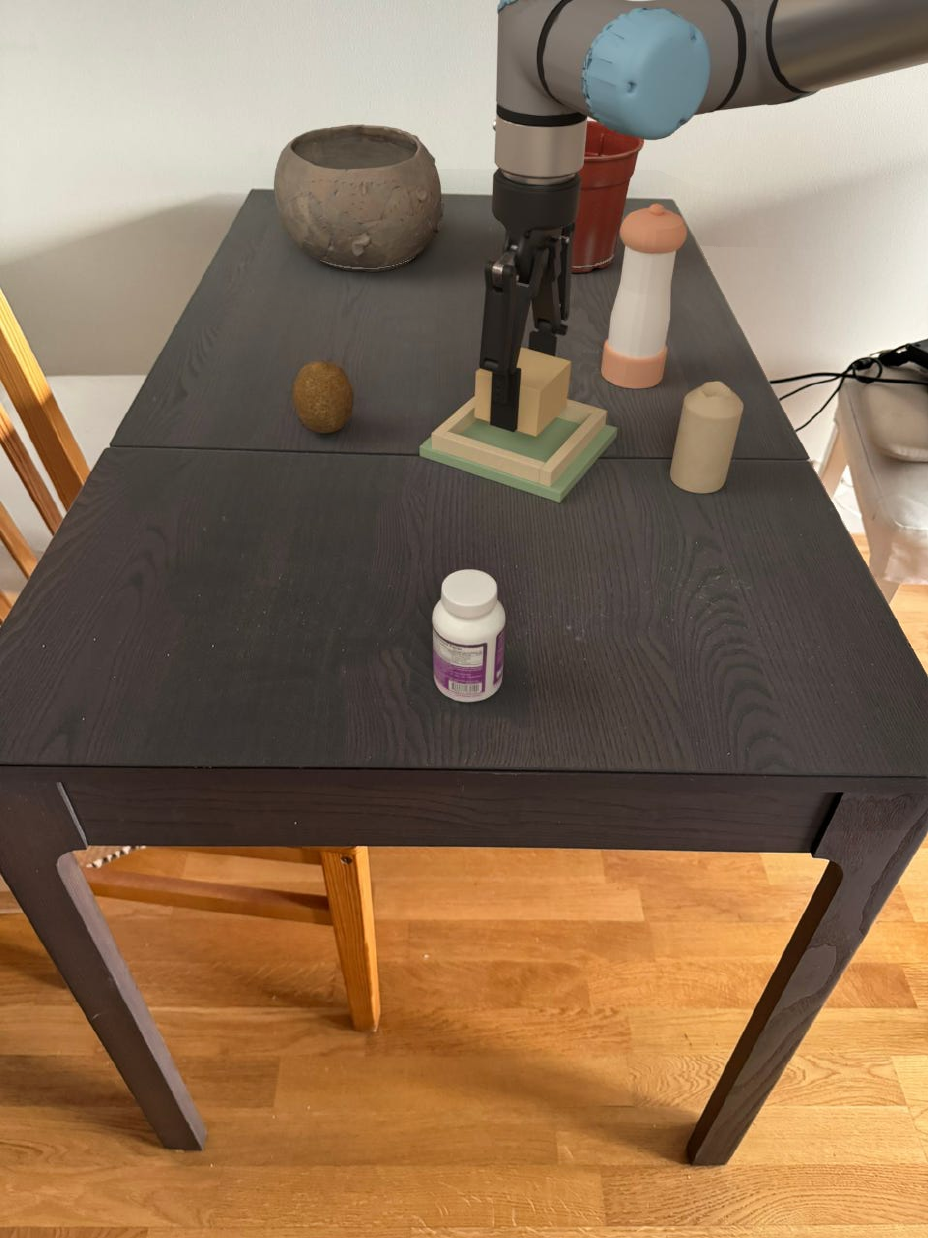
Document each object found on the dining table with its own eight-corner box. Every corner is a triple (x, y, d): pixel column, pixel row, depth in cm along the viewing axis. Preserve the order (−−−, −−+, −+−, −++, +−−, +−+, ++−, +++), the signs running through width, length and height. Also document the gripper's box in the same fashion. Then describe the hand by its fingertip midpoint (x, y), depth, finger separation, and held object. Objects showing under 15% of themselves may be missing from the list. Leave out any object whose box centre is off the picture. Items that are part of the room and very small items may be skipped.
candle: (729, 494, 91) (752, 404, 84) (673, 493, 91) (692, 402, 84) (719, 463, 95) (740, 374, 88) (665, 462, 95) (682, 373, 88)
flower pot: (555, 289, 126) (566, 163, 115) (492, 248, 137) (497, 129, 126) (651, 266, 133) (669, 145, 122) (584, 229, 143) (595, 114, 132)
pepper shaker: (675, 379, 108) (707, 209, 95) (626, 394, 105) (652, 222, 92) (636, 353, 113) (661, 188, 100) (588, 367, 110) (607, 199, 97)
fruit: (342, 451, 96) (336, 381, 90) (287, 441, 97) (278, 371, 92) (364, 421, 100) (360, 352, 95) (311, 412, 102) (304, 343, 96)
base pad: (616, 437, 99) (620, 412, 97) (559, 503, 90) (562, 477, 88) (485, 397, 104) (485, 373, 102) (419, 456, 95) (418, 430, 93)
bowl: (257, 276, 128) (241, 160, 118) (312, 218, 144) (302, 112, 134) (418, 294, 125) (416, 175, 114) (457, 232, 141) (458, 124, 131)
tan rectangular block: (566, 405, 95) (571, 361, 92) (536, 436, 91) (540, 391, 87) (506, 387, 98) (509, 343, 94) (474, 417, 93) (475, 371, 90)
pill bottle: (468, 645, 75) (470, 552, 68) (516, 680, 72) (523, 586, 66) (418, 679, 72) (416, 585, 66) (466, 716, 69) (469, 622, 63)
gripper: (549, 133, 86) (532, 360, 102) (439, 195, 74) (439, 444, 89) (624, 146, 84) (595, 378, 99) (523, 213, 71) (508, 467, 86)
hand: (521, 409), depth 94 cm, fingers closed on tan rectangular block, 7 cm apart
